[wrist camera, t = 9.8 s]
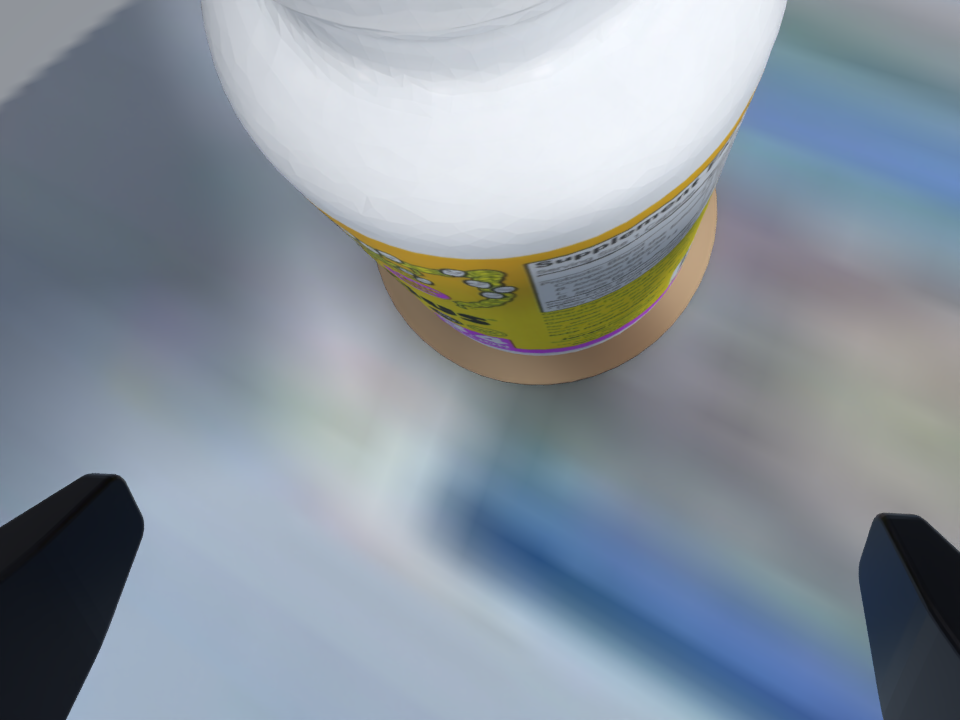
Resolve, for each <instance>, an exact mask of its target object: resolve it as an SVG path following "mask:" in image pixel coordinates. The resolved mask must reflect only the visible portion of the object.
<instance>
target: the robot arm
mask: <svg viewBox="0 0 960 720" xmlns="http://www.w3.org/2000/svg"><path fill="white" fill-rule="evenodd" d="M143 532H144V520H143V516H142V514H141V512H140V510H139V508H138V506H137V504H136V502H135V500H134V498H133V496H132V494H131V492H130V490H129V488H128V486H127V483H126V482H125V480H124V479H123V478H122V477H120V476H119V475H116V474H100V473H91V474H87V475H84V476H82V477H80V478H79V479H77V480H76V481H74V482H72V483H71V484H69V485H67V486H66V487H64V488H63V489H61V490H59V491H58V492H56V493H55V494H53V495H51V496H50V497H48V498H47V499H45V500H43V501H42V502H40V503H39V504H37V505H35V506H34V507H32V508H31V509H29V510H27V511H26V512H24V513H23V514H21V515H19V516H18V517H16V518H14V519H13V520H11V521H10V522H8V523H6V524H5V525H3V526H2V527H0V720H66V719H67V717H68V715H69V712H70V710H71V708H72V706H73V704H74V702H75V700H76V698H77V696H78V694H79V692H80V690H81V688H82V686H83V684H84V682H85V680H86V678H87V676H88V674H89V672H90V669H91V667H92V665H93V663H94V661H95V659H96V657H97V655H98V652H99V650H100V648H101V646H102V643H103V641H104V638H105V636H106V633H107V631H108V629H109V626H110V623H111V621H112V618H113V615H114V613H115V610H116V607H117V604H118V602H119V599H120V596H121V594H122V591H123V588H124V586H125V583H126V580H127V578H128V575H129V572H130V569H131V567H132V564H133V561H134V559H135V556H136V553H137V551H138V548H139V545H140V542H141V540H142V537H143ZM859 584H860V590H861V596H862V601H863V607H864V613H865V619H866V625H867V631H868V636H869V642H870V648H871V654H872V660H873V666H874V672H875V677H876V683H877V689H878V695H879V700H880V705H881V710H882V715H883V720H960V552H959V551H958V550H957V549H956V548H955V547H954V546H953V545H952V544H951V543H949V542H948V541H947V540H946V539H945V538H944V537H943V536H942V535H941V534H940V533H939V532H938V531H937V530H935V529H934V528H933V527H932V526H931V525H930V524H929V523H928V522H927V521H926V520H924V519H923V518H921V517H920V516H917V515H914V514H898V513H880V514H878V515H877V516H876V517H875V518H874V520H873V522H872V525H871V528H870V531H869V534H868V537H867V541H866V544H865V547H864V550H863V553H862V556H861V559H860V563H859Z"/></svg>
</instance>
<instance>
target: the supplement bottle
mask: <svg viewBox="0 0 960 720" xmlns="http://www.w3.org/2000/svg"><path fill="white" fill-rule="evenodd" d="M786 3H787V0H201V9H202V15H203V21H204V27H205V32H206V36H207V40H208V44H209V48H210V52H211V55H212V59H213V63H214V66H215V69H216V71H217V74H218V77H219V79H220V82H221V85H222V87H223V90H224V92H225V94H226V96H227V98H228V100H229V102H230V104H231V106H232V108H233V110H234V112H235V113H236V115H237V117H238V119H239V120H240V122H241V123H242V125H243V127H244V128H245V130H246V131H247V133H248V134H249V135H250V137H251V138H252V140H253V141H254V143H255V144H256V145H257V146H258V148H259V149H260V150H261V151H262V153H263V154H264V155H265V157H266V158H267V159H268V160H269V161H270V163H271V164H272V165H273V166H274V167H275V168H276V169H277V170H278V171H279V172H280V173H281V174H282V175H283V176H284V177H285V178H286V179H287V180H288V181H289V182H290V183H291V184H292V185H293V186H294V187H295V188H296V189H298V190H299V191H300V192H301V193H302V194H303V195H304V196H305V197H306V198H307V199H308V200H309V201H310V202H311V203H312V204H313V205H315V206H316V207H317V208H318V209H319V210H320V211H322V212H323V213H324V214H325V215H326V216H327V217H328V218H329V219H331V220H332V221H333V222H334V223H335V224H336V225H337V226H339V227H340V228H341V229H342V230H343V231H344V232H345V233H346V234H347V235H348V236H350V237H351V238H352V239H353V240H354V241H355V242H356V243H357V244H358V245H360V246H361V247H362V248H363V249H364V250H365V251H366V252H367V253H368V254H369V255H370V256H371V257H372V258H374V259H375V260H376V261H377V262H378V263H379V264H380V265H381V266H382V267H383V268H384V269H386V270H387V271H388V272H389V273H390V274H391V275H392V276H393V277H394V278H395V279H397V280H398V281H399V282H400V283H401V284H402V285H403V286H404V287H405V288H406V289H407V290H408V291H410V292H411V293H412V294H413V295H414V296H416V297H417V298H418V299H419V300H420V301H421V302H422V303H423V304H424V305H425V306H426V307H428V308H429V309H430V310H431V311H432V312H433V313H435V314H436V315H437V316H438V317H439V318H441V319H442V320H443V321H444V322H446V323H447V324H449V325H450V326H451V327H453V328H454V329H456V330H457V331H459V332H460V333H462V334H464V335H465V336H467V337H469V338H471V339H473V340H475V341H477V342H479V343H481V344H483V345H486V346H488V347H491V348H495V349H498V350H501V351H505V352H510V353H514V354H523V355H533V356H547V355H560V354H566V353H571V352H577V351H580V350H583V349H587V348H590V347H592V346H595V345H598V344H600V343H603V342H605V341H607V340H609V339H611V338H613V337H615V336H616V335H618V334H620V333H622V332H623V331H624V330H626V329H627V328H629V327H630V326H632V325H633V324H634V323H636V322H637V321H638V320H639V319H641V318H642V317H643V316H644V315H645V314H646V313H648V312H649V311H650V310H651V309H652V308H653V307H654V306H655V305H656V303H657V302H658V301H659V300H660V299H661V298H662V296H663V295H664V294H665V292H666V291H667V290H668V288H669V287H670V286H671V284H672V282H673V281H674V279H675V277H676V276H677V274H678V272H679V271H680V269H681V267H682V265H683V263H684V261H685V258H686V256H687V254H688V252H689V250H690V247H691V245H692V242H693V240H694V237H695V235H696V233H697V230H698V227H699V225H700V222H701V220H702V218H703V215H704V213H705V211H706V209H707V207H708V204H709V200H710V198H711V196H712V193H713V191H714V188H715V186H716V184H717V181H718V179H719V177H720V174H721V171H722V169H723V167H724V164H725V161H726V159H727V156H728V154H729V152H730V149H731V147H732V144H733V142H734V140H735V137H736V135H737V132H738V130H739V128H740V125H741V123H742V120H743V118H744V116H745V113H746V111H747V109H748V107H749V104H750V102H751V100H752V97H753V95H754V92H755V90H756V88H757V85H758V83H759V81H760V79H761V76H762V74H763V72H764V69H765V67H766V64H767V61H768V58H769V55H770V52H771V49H772V47H773V44H774V42H775V39H776V37H777V34H778V32H779V28H780V25H781V21H782V18H783V15H784V11H785V8H786Z"/></svg>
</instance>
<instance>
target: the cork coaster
mask: <svg viewBox="0 0 960 720" xmlns="http://www.w3.org/2000/svg"><path fill="white" fill-rule="evenodd" d="M716 222H717V195H716V189H715V188H714V191H713V193H712V196H711V198H710V200H709V204H708V207H707V209H706V211H705V213H704V215H703V218H702V220H701V222H700V225H699V227H698V230H697V233H696V235H695V237H694V240H693V242H692V245H691V247H690V250H689V252H688V254H687V256H686V258H685V261H684V263H683V265H682V267H681V269H680V271H679V272H678V274H677V276H676V277H675V279H674V281H673V282H672V284H671V286H670V287H669V288H668V290H667V291H666V292H665V294H664V295H663V296H662V298H661V299H660V300H659V301H658V302H657V303H656V305H655V306H654V307H653V308H652V309H651V310H650V311H649V312H648V313H646V314H645V315H644V316H643V317H642V318H641V319H639V320H638V321H637V322H636V323H634V324H633V325H632V326H630V327H629V328H627V329H626V330H624V331H623V332H622V333H620V334H618V335H616V336H615V337H613V338H611V339H609V340H607V341H605V342H603V343H600V344H598V345H595V346H592V347H590V348H587V349H583V350H580V351H577V352H571V353H566V354H560V355H547V356H533V355H523V354H514V353H510V352H505V351H501V350H498V349H495V348H491V347H488V346H486V345H483V344H481V343H479V342H477V341H475V340H473V339H471V338H469V337H467V336H465V335H464V334H462V333H460V332H459V331H457V330H456V329H454V328H453V327H451V326H450V325H449V324H447V323H446V322H444V321H443V320H442V319H441V318H439V317H438V316H437V315H436V314H435V313H433V312H432V311H431V310H430V309H429V308H428V307H426V306H425V305H424V304H423V303H422V302H421V301H420V300H419V299H418V298H417V297H416V296H414V295H413V294H412V293H411V292H410V291H408V290H407V289H406V288H405V287H404V286H403V285H402V284H401V283H400V282H399V281H398V280H397V279H395V278H394V277H393V276H392V275H391V274H390V273H389V272H388V271H387V270H386V269H384V268H383V267H382V266H381V265H380V264H379V263H378V262H377V264H378V268H379V272H380V274H381V277H382V280H383V282H384V285H385V288H386V290H387V292H388V294H389V296H390V297H391V299H392V301H393V303H394V305H395V307H396V308H397V310H398V311H399V313H400V314H401V315H402V317H403V318H404V319H405V321H406V322H407V324H408V325H409V326H410V327H411V328H412V329H413V330H414V331H415V332H416V333H417V334H418V335H419V337H420V338H421V339H422V340H423V341H424V342H426V343H427V344H428V345H430V346H431V347H432V348H433V349H435V350H436V351H437V352H438V353H440V354H441V355H442V356H444V357H446V358H447V359H449V360H451V361H452V362H454V363H456V364H457V365H459V366H461V367H463V368H465V369H467V370H470V371H472V372H474V373H477V374H479V375H482V376H485V377H488V378H492V379H496V380H499V381H503V382H509V383H517V384H524V385H552V384H560V383H568V382H574V381H578V380H582V379H585V378H589V377H593V376H596V375H599V374H601V373H603V372H606V371H608V370H611V369H613V368H616V367H618V366H619V365H621V364H623V363H625V362H627V361H628V360H630V359H632V358H634V357H635V356H637V355H638V354H640V353H641V352H642V351H644V350H645V349H646V348H648V347H649V346H650V345H652V344H653V343H654V342H656V341H657V340H658V339H659V338H660V337H661V336H662V335H663V334H664V333H665V332H666V331H667V330H668V329H669V328H670V327H671V326H672V325H673V324H674V322H675V321H676V320H677V318H678V317H679V316H680V315H681V313H682V312H683V311H684V309H685V308H686V307H687V305H688V303H689V302H690V300H691V298H692V297H693V295H694V293H695V291H696V290H697V288H698V286H699V284H700V282H701V280H702V277H703V275H704V272H705V270H706V268H707V265H708V263H709V259H710V255H711V251H712V248H713V244H714V239H715V231H716Z"/></svg>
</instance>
